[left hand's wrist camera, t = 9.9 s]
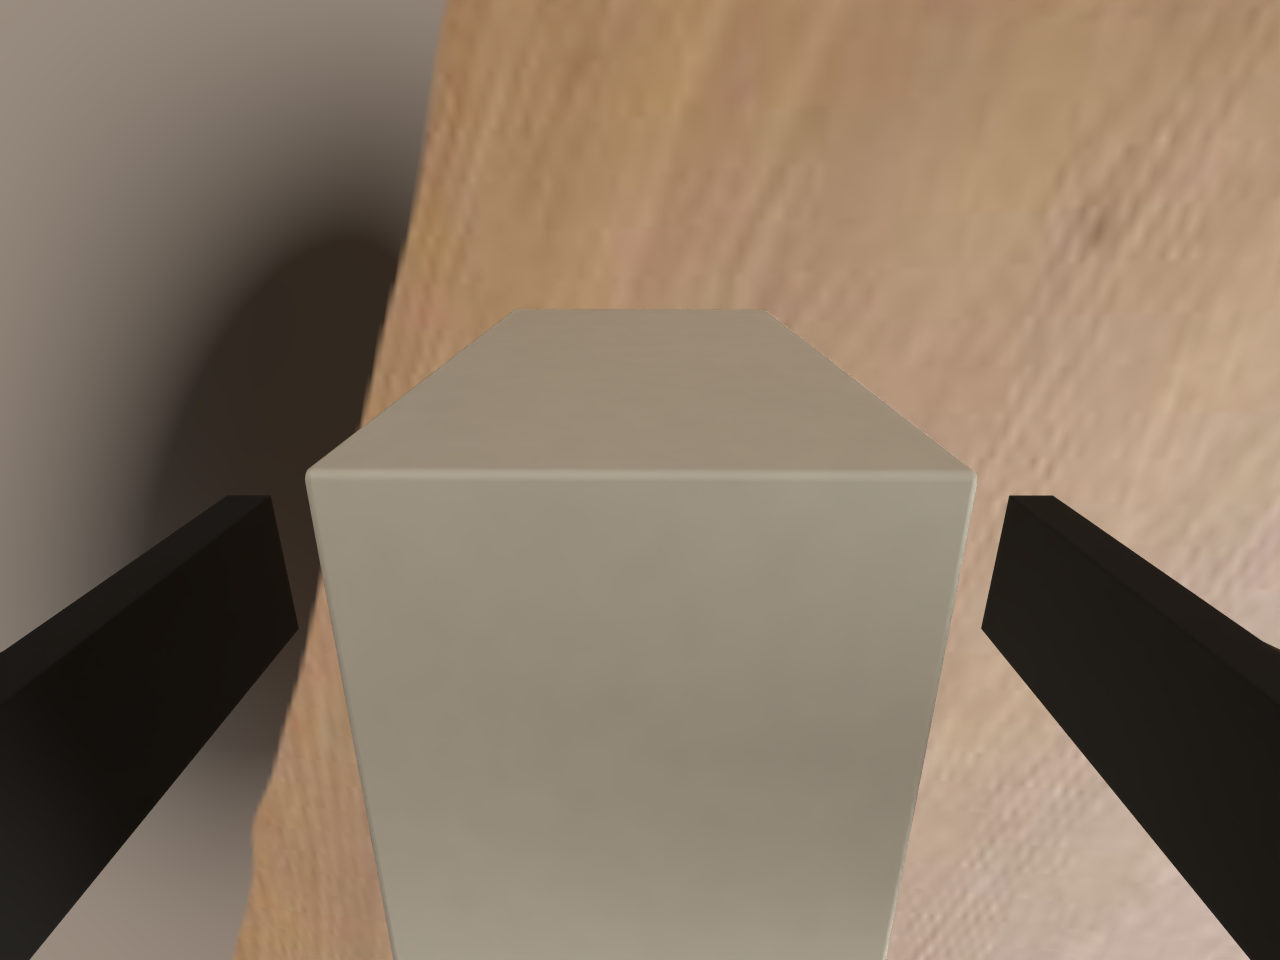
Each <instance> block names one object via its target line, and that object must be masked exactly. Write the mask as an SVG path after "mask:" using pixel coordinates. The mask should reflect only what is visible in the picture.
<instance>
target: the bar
mask: <svg viewBox="0 0 1280 960" xmlns="http://www.w3.org/2000/svg"><path fill="white" fill-rule="evenodd" d="M305 482H306V487H307V493H308V498H309V504H310V509H311V515H312V520H313V525H314V531H315V536H316V542H317V547H318V553H319V558H320V563H321V569H322V574H323V580H324V585H325V591H326V596H327V601H328V607H329V612H330V618H331V623H332V628H333V634H334V639H335V645H336V650H337V656H338V661H339V666H340V672H341V677H342V683H343V688H344V694H345V699H346V704H347V710H348V715H349V721H350V726H351V732H352V737H353V742H354V748H355V753H356V759H357V764H358V770H359V775H360V780H361V786H362V791H363V797H364V802H365V807H366V813H367V818H368V824H369V829H370V835H371V840H372V845H373V851H374V856H375V862H376V867H377V873H378V878H379V883H380V889H381V894H382V900H383V905H384V911H385V916H386V921H387V927H388V932H389V938H390V943H391V948H392V954H393V959H394V960H886V955H887V950H888V945H889V939H890V934H891V929H892V924H893V919H894V913H895V908H896V903H897V898H898V893H899V888H900V882H901V877H902V872H903V867H904V862H905V856H906V851H907V846H908V841H909V836H910V830H911V825H912V820H913V815H914V810H915V804H916V799H917V794H918V789H919V784H920V778H921V773H922V768H923V763H924V758H925V753H926V747H927V742H928V737H929V732H930V727H931V721H932V716H933V711H934V706H935V701H936V695H937V690H938V685H939V680H940V675H941V669H942V664H943V659H944V654H945V649H946V643H947V638H948V633H949V628H950V623H951V617H952V612H953V607H954V602H955V597H956V592H957V586H958V581H959V576H960V571H961V566H962V560H963V555H964V550H965V545H966V540H967V534H968V529H969V524H970V519H971V514H972V508H973V503H974V498H975V493H976V488H977V482H978V481H977V475H976V472H975V471H974V470H973V469H971V468H970V467H969V466H967V465H966V464H965V463H964V462H962V461H961V460H960V459H958V458H957V457H956V456H954V455H953V454H952V453H951V452H949V451H948V450H947V449H945V448H944V447H943V446H941V445H940V444H939V443H938V442H936V441H935V440H934V439H932V438H931V437H930V436H928V435H927V434H926V433H925V432H923V431H922V430H921V429H919V428H918V427H917V426H916V425H914V424H913V423H912V422H910V421H909V420H908V419H906V418H905V417H904V416H903V415H901V414H900V413H899V412H897V411H896V410H895V409H893V408H892V407H891V406H890V405H888V404H887V403H886V402H884V401H883V400H882V399H880V398H879V397H878V396H877V395H875V394H874V393H873V392H871V391H870V390H869V389H867V388H866V387H865V386H864V385H862V384H861V383H860V382H858V381H857V380H856V379H855V378H853V377H852V376H851V375H849V374H848V373H847V372H845V371H844V370H843V369H842V368H840V367H839V366H838V365H836V364H835V363H834V362H832V361H831V360H830V359H829V358H827V357H826V356H825V355H823V354H822V353H821V352H819V351H818V350H817V349H816V348H814V347H813V346H812V345H810V344H809V343H808V342H806V341H805V340H804V339H803V338H801V337H800V336H799V335H797V334H796V333H795V332H794V331H792V330H791V329H790V328H788V327H787V326H786V325H784V324H783V323H782V322H781V321H779V320H778V319H777V318H775V317H774V316H773V315H771V314H770V313H769V312H768V311H766V310H728V309H515V310H513V311H512V312H511V313H510V314H508V315H507V316H506V317H504V318H503V319H502V320H501V321H499V322H498V323H497V324H495V325H494V326H493V327H492V328H490V329H489V330H488V331H486V332H485V333H484V334H482V335H481V336H480V337H479V338H477V339H476V340H475V341H473V342H472V343H471V344H470V345H468V346H467V347H466V348H464V349H463V350H462V351H460V352H459V353H458V354H457V355H455V356H454V357H453V358H451V359H450V360H449V361H448V362H446V363H445V364H444V365H442V366H441V367H440V368H438V369H437V370H436V371H435V372H433V373H432V374H431V375H429V376H428V377H427V378H426V379H424V380H423V381H422V382H420V383H419V384H418V385H416V386H415V387H414V388H413V389H411V390H410V391H409V392H407V393H406V394H405V395H404V396H402V397H401V398H400V399H398V400H397V401H396V402H395V403H393V404H392V405H391V406H389V407H388V408H387V409H385V410H384V411H383V412H382V413H380V414H379V415H378V416H376V417H375V418H374V419H373V420H371V421H370V422H369V423H367V424H366V425H365V426H363V427H362V428H361V429H360V430H358V431H357V432H356V433H354V434H353V435H352V436H351V437H349V438H348V439H347V440H345V441H344V442H343V443H342V444H340V445H339V446H338V447H336V448H335V449H334V450H332V451H331V452H330V453H329V454H327V455H326V456H325V457H323V458H322V459H321V460H319V461H318V462H317V463H316V464H314V465H313V466H312V467H310V468H309V469H308V470H307V473H306V477H305Z"/></svg>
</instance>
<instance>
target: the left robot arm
mask: <svg viewBox="0 0 1280 960" xmlns="http://www.w3.org/2000/svg"><path fill="white" fill-rule="evenodd" d="M298 629H299V627H298V623H297V618H296V613H295V609H294V604H293V599H292V594H291V589H290V585H289V580H288V575H287V571H286V566H285V561H284V556H283V552H282V547H281V542H280V538H279V533H278V528H277V523H276V519H275V514H274V509H273V505H272V500H271V496H226V497H225V498H223V499H222V500H220V501H219V502H217V503H216V504H214V505H213V506H212V507H210V508H209V509H207V510H206V511H204V512H203V513H202V514H200V515H199V516H197V517H196V518H194V519H193V520H191V521H190V522H189V523H187V524H186V525H184V526H183V527H181V528H180V529H178V530H177V531H176V532H174V533H173V534H171V535H170V536H168V537H167V538H166V539H164V540H163V541H161V542H160V543H158V544H157V545H155V546H154V547H153V548H151V549H150V550H148V551H147V552H145V553H144V554H143V555H141V556H140V557H138V558H137V559H135V560H134V561H132V562H131V563H130V564H128V565H127V566H125V567H124V568H122V569H121V570H119V571H118V572H117V573H115V574H114V575H112V576H111V577H109V578H108V579H107V580H105V581H104V582H102V583H101V584H99V585H98V586H97V587H95V588H94V589H92V590H91V591H89V592H88V593H86V594H85V595H83V596H82V597H81V598H79V599H78V600H76V601H75V602H73V603H72V604H71V605H69V606H68V607H66V608H65V609H63V610H62V611H61V612H59V613H58V614H56V615H55V616H53V617H52V618H50V619H49V620H48V621H46V622H45V623H43V624H42V625H40V626H39V627H37V628H36V629H35V630H33V631H32V632H30V633H29V634H27V635H26V636H24V637H23V638H22V639H20V640H19V641H17V642H16V643H15V644H13V645H12V646H10V647H9V648H7V649H6V650H4V651H3V652H1V653H0V960H30V959H31V957H32V956H33V955H34V953H35V952H36V951H37V950H38V949H39V947H40V946H41V945H42V944H43V943H44V941H45V940H46V939H47V938H48V936H49V935H50V934H51V933H52V931H53V930H54V929H55V928H56V927H57V925H58V924H59V923H60V922H61V920H62V919H63V918H64V917H65V915H66V914H67V913H68V912H69V911H70V909H71V908H72V907H73V906H74V904H75V903H76V902H77V901H78V899H79V898H80V897H81V896H82V895H83V893H84V892H85V891H86V890H87V888H88V887H89V886H90V885H91V883H92V882H93V881H94V880H95V879H96V877H97V876H98V875H99V874H100V872H101V871H102V870H103V869H104V867H105V866H106V865H107V864H108V863H109V861H110V860H111V859H112V858H113V856H114V855H115V854H116V853H117V852H118V850H119V849H120V848H121V847H122V845H123V844H124V843H125V842H126V840H127V839H128V838H129V837H130V836H131V834H132V833H133V832H134V831H135V829H136V828H137V827H138V826H139V824H140V823H141V822H142V821H143V819H144V818H145V817H146V816H147V815H148V813H149V812H150V811H151V810H152V808H153V807H154V806H155V805H156V803H157V802H158V801H159V800H160V799H161V797H162V796H163V795H164V794H165V792H166V791H167V790H168V789H169V788H170V786H171V785H172V784H173V783H174V781H175V780H176V779H177V778H178V776H179V775H180V774H181V773H182V771H183V770H184V769H185V768H186V767H187V765H188V764H189V763H190V762H191V760H192V759H193V758H194V757H195V755H196V754H197V753H198V752H199V751H200V749H201V748H202V747H203V746H204V744H205V743H206V742H207V741H208V740H209V738H210V737H211V736H212V735H213V733H214V732H215V731H216V730H217V728H218V727H219V726H220V725H221V723H222V722H223V721H224V720H225V719H226V717H227V716H228V715H229V714H230V713H231V711H232V710H233V709H234V708H235V706H236V705H237V704H238V703H239V701H240V700H241V699H242V698H243V696H244V695H245V694H246V693H247V691H248V690H249V689H250V688H251V687H252V685H253V684H254V683H255V682H256V681H257V679H258V678H259V677H260V676H261V674H262V673H263V672H264V671H265V669H266V668H267V667H268V666H269V665H270V663H271V662H272V661H273V660H274V658H275V657H276V656H277V655H278V653H279V652H280V651H281V650H282V649H283V647H284V646H285V645H286V644H287V642H288V641H289V640H290V639H291V637H292V636H293V635H294V634H295V633H296V631H297V630H298ZM981 629H982V630H983V631H984V633H985V634H986V635H987V636H988V637H989V639H990V640H991V641H992V642H993V644H994V645H995V646H996V647H997V649H998V650H999V651H1000V652H1001V653H1002V655H1003V656H1004V657H1005V658H1006V660H1007V661H1008V662H1009V663H1010V665H1011V666H1012V667H1013V668H1014V669H1015V671H1016V672H1017V673H1018V674H1019V676H1020V677H1021V678H1022V679H1023V681H1024V682H1025V683H1026V684H1027V685H1028V687H1029V688H1030V689H1031V690H1032V692H1033V693H1034V694H1035V695H1036V697H1037V698H1038V699H1039V700H1040V701H1041V703H1042V704H1043V705H1044V706H1045V708H1046V709H1047V710H1048V711H1049V713H1050V714H1051V715H1052V716H1053V717H1054V719H1055V720H1056V721H1057V722H1058V724H1059V725H1060V726H1061V727H1062V728H1063V730H1064V731H1065V732H1066V733H1067V735H1068V736H1069V737H1070V738H1071V740H1072V741H1073V742H1074V743H1075V744H1076V746H1077V747H1078V748H1079V749H1080V751H1081V752H1082V753H1083V754H1084V756H1085V757H1086V758H1087V759H1088V760H1089V762H1090V763H1091V764H1092V765H1093V767H1094V768H1095V769H1096V770H1097V772H1098V773H1099V774H1100V775H1101V776H1102V778H1103V779H1104V780H1105V781H1106V783H1107V784H1108V785H1109V786H1110V788H1111V789H1112V790H1113V791H1114V792H1115V794H1116V795H1117V796H1118V797H1119V799H1120V800H1121V801H1122V802H1123V804H1124V805H1125V806H1126V807H1127V808H1128V810H1129V811H1130V812H1131V813H1132V815H1133V816H1134V817H1135V818H1136V820H1137V821H1138V822H1139V823H1140V824H1141V826H1142V827H1143V828H1144V829H1145V831H1146V832H1147V833H1148V834H1149V836H1150V837H1151V838H1152V839H1153V840H1154V842H1155V843H1156V844H1157V845H1158V847H1159V848H1160V849H1161V850H1162V851H1163V853H1164V854H1165V855H1166V856H1167V858H1168V859H1169V860H1170V861H1171V863H1172V864H1173V865H1174V866H1175V867H1176V869H1177V870H1178V871H1179V872H1180V874H1181V875H1182V876H1183V877H1184V879H1185V880H1186V881H1187V882H1188V883H1189V885H1190V886H1191V887H1192V888H1193V890H1194V891H1195V892H1196V893H1197V895H1198V896H1199V897H1200V898H1201V899H1202V901H1203V902H1204V903H1205V904H1206V906H1207V907H1208V908H1209V909H1210V911H1211V912H1212V913H1213V914H1214V915H1215V917H1216V918H1217V919H1218V920H1219V922H1220V923H1221V924H1222V925H1223V927H1224V928H1225V929H1226V930H1227V931H1228V933H1229V934H1230V935H1231V936H1232V938H1233V939H1234V940H1235V941H1236V943H1237V944H1238V945H1239V946H1240V947H1241V949H1242V950H1243V951H1244V952H1245V954H1246V955H1247V956H1248V957H1249V959H1250V960H1280V649H1278V648H1275V647H1273V646H1271V645H1269V644H1267V643H1265V642H1263V641H1261V640H1260V639H1258V638H1257V637H1256V636H1254V635H1253V634H1251V633H1250V632H1248V631H1247V630H1245V629H1244V628H1243V627H1241V626H1240V625H1238V624H1237V623H1235V622H1234V621H1233V620H1231V619H1230V618H1228V617H1227V616H1225V615H1224V614H1222V613H1221V612H1220V611H1218V610H1217V609H1215V608H1214V607H1212V606H1211V605H1209V604H1208V603H1207V602H1205V601H1204V600H1202V599H1201V598H1199V597H1198V596H1197V595H1195V594H1194V593H1192V592H1191V591H1189V590H1188V589H1186V588H1185V587H1184V586H1182V585H1181V584H1179V583H1178V582H1176V581H1175V580H1173V579H1172V578H1171V577H1169V576H1168V575H1166V574H1165V573H1163V572H1162V571H1161V570H1159V569H1158V568H1156V567H1155V566H1153V565H1152V564H1150V563H1149V562H1148V561H1146V560H1145V559H1143V558H1142V557H1140V556H1139V555H1138V554H1136V553H1135V552H1133V551H1132V550H1130V549H1129V548H1127V547H1126V546H1125V545H1123V544H1122V543H1120V542H1119V541H1117V540H1116V539H1114V538H1113V537H1112V536H1110V535H1109V534H1107V533H1106V532H1104V531H1103V530H1102V529H1100V528H1099V527H1097V526H1096V525H1094V524H1093V523H1091V522H1090V521H1089V520H1087V519H1086V518H1084V517H1083V516H1081V515H1080V514H1078V513H1077V512H1076V511H1074V510H1073V509H1071V508H1070V507H1068V506H1067V505H1066V504H1064V503H1063V502H1061V501H1060V500H1058V499H1057V498H1055V497H1054V496H1009V500H1008V505H1007V509H1006V514H1005V519H1004V523H1003V528H1002V533H1001V538H1000V542H999V547H998V552H997V557H996V561H995V566H994V571H993V575H992V580H991V585H990V590H989V594H988V599H987V604H986V608H985V613H984V618H983V623H982V627H981Z"/></svg>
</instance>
